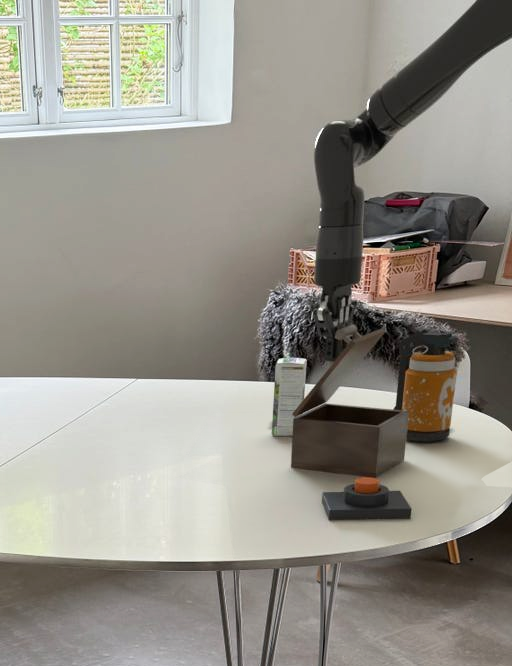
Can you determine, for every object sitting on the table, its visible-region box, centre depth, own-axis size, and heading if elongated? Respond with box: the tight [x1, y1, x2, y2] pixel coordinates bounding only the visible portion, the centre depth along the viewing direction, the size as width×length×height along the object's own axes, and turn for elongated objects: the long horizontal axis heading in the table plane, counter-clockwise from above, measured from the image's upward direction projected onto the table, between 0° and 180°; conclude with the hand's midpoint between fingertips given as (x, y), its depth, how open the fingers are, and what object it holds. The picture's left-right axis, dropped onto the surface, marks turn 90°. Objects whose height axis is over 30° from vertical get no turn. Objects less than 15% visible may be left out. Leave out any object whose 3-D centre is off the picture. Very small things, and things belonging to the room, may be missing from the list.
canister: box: [392, 329, 459, 443], centre depth 180 cm, size 9×11×20 cm
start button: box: [354, 476, 380, 493], centre depth 147 cm, size 4×4×2 cm
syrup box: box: [271, 357, 308, 437], centre depth 191 cm, size 6×6×14 cm
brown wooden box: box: [290, 402, 409, 479], centre depth 170 cm, size 16×13×9 cm
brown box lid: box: [292, 324, 387, 417], centre depth 167 cm, size 17×13×5 cm
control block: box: [321, 483, 412, 521], centre depth 148 cm, size 12×9×4 cm
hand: (332, 360), depth 167 cm, fingers closed
